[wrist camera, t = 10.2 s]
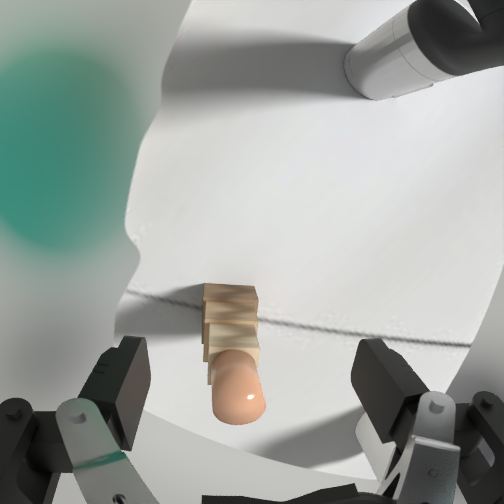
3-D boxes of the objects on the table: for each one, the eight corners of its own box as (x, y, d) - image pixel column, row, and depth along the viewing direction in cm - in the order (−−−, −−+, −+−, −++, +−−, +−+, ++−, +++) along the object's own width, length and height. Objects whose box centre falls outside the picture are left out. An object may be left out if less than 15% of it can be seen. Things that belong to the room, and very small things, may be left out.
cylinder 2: (339, 441, 56) (377, 529, 32) (390, 379, 52) (454, 467, 28) (393, 444, 60) (434, 513, 36) (439, 390, 56) (496, 456, 32)
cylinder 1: (257, 349, 29) (268, 389, 24) (254, 383, 30) (263, 423, 25) (210, 349, 29) (212, 390, 23) (210, 384, 30) (212, 425, 24)
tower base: (254, 285, 44) (258, 300, 39) (249, 328, 45) (252, 346, 41) (204, 282, 43) (203, 297, 38) (202, 326, 44) (201, 344, 40)
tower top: (254, 324, 34) (259, 348, 29) (249, 360, 35) (254, 386, 31) (209, 322, 33) (209, 346, 29) (208, 358, 35) (207, 384, 30)
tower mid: (253, 303, 39) (258, 321, 34) (248, 342, 40) (252, 363, 36) (206, 300, 38) (204, 318, 33) (204, 340, 40) (203, 361, 35)
